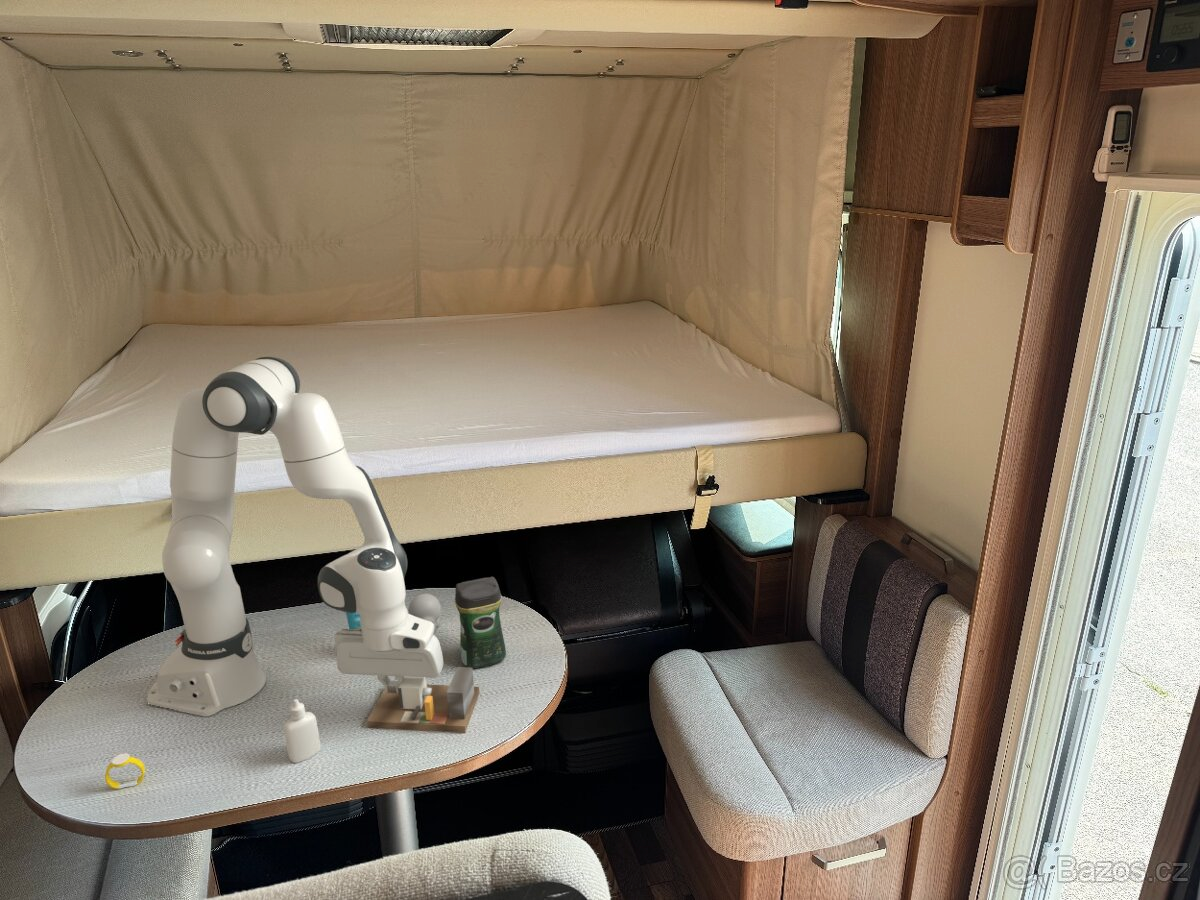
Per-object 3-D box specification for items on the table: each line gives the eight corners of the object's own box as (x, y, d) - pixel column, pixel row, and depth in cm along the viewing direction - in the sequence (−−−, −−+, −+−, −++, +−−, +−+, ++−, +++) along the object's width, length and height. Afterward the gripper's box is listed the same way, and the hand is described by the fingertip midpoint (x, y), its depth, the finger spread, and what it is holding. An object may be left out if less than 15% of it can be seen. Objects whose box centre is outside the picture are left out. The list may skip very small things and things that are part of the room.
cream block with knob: (395, 720, 163) (392, 698, 161) (407, 694, 170) (405, 672, 168) (423, 721, 162) (421, 699, 160) (435, 695, 170) (432, 674, 168)
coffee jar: (500, 643, 189) (495, 569, 182) (509, 663, 182) (504, 587, 176) (457, 652, 186) (450, 577, 179) (464, 673, 179) (458, 596, 172)
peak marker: (426, 719, 162) (424, 702, 161) (429, 712, 164) (427, 695, 163) (431, 720, 162) (429, 702, 161) (434, 713, 164) (432, 695, 163)
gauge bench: (367, 727, 164) (363, 695, 161) (388, 688, 175) (384, 657, 172) (465, 732, 162) (462, 700, 159) (479, 693, 173) (477, 661, 170)
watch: (109, 796, 148) (99, 769, 146) (112, 785, 151) (102, 758, 149) (147, 785, 150) (137, 759, 148) (149, 774, 152) (139, 748, 150)
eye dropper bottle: (290, 749, 158) (280, 695, 154) (321, 743, 160) (313, 690, 155) (288, 765, 154) (278, 710, 150) (320, 759, 156) (311, 705, 151)
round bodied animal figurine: (412, 655, 190) (408, 633, 184) (409, 611, 198) (406, 589, 193) (445, 650, 191) (442, 628, 185) (441, 607, 200) (438, 584, 194)
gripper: (326, 637, 160) (336, 698, 165) (433, 642, 158) (439, 703, 163) (339, 619, 166) (348, 679, 171) (442, 623, 164) (448, 683, 169)
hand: (393, 691), depth 167 cm, fingers closed
